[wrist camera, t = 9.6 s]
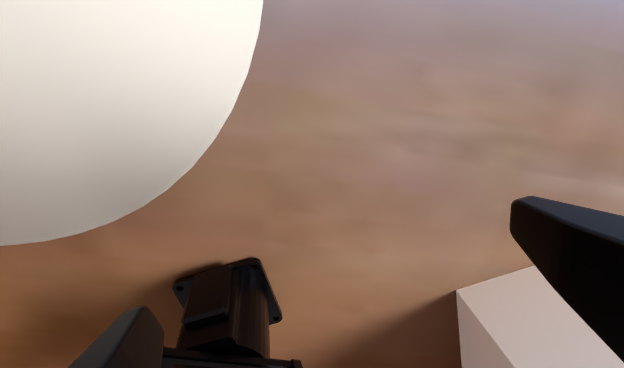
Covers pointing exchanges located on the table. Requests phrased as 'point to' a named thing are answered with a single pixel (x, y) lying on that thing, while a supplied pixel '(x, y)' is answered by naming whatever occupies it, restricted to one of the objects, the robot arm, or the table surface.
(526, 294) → the milk
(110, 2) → the lid
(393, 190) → the table surface
